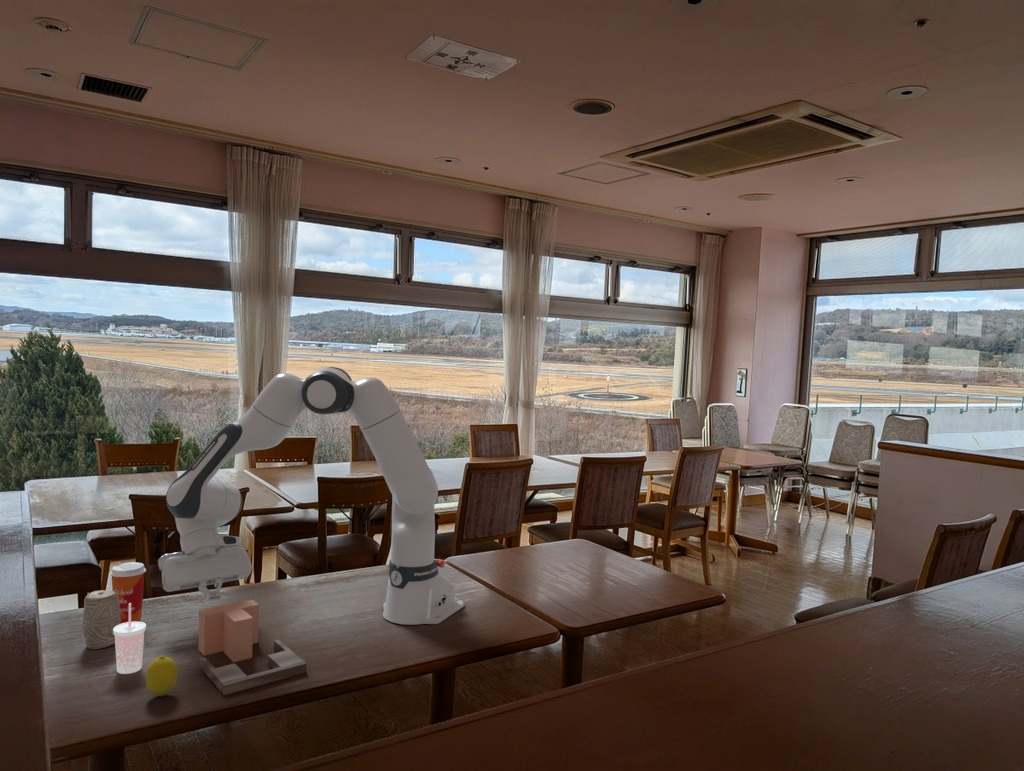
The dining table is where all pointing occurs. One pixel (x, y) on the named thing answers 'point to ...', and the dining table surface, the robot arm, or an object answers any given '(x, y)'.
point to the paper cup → (129, 589)
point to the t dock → (237, 680)
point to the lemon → (161, 675)
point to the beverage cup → (129, 645)
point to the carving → (100, 618)
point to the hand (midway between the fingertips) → (214, 599)
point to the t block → (229, 629)
